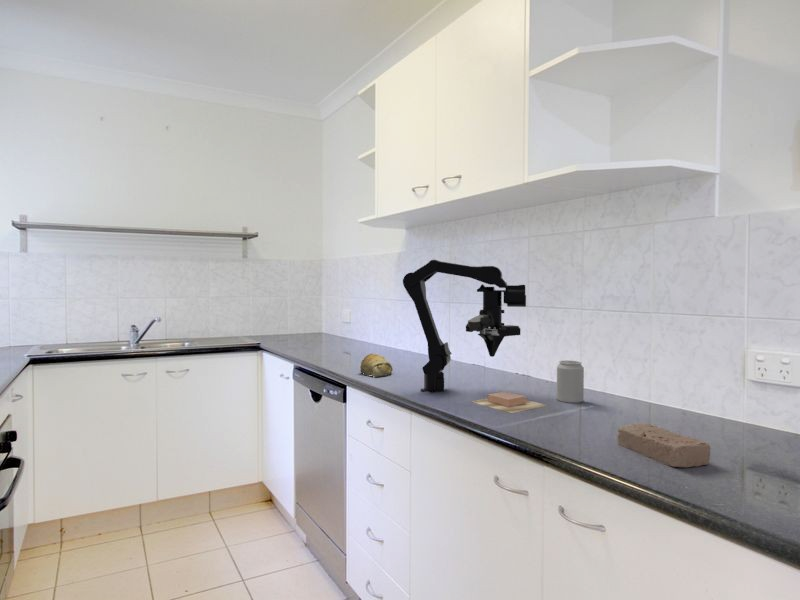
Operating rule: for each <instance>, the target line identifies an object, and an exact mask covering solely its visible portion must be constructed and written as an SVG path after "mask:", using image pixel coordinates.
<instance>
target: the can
mask: <svg viewBox="0 0 800 600" xmlns="http://www.w3.org/2000/svg"><path fill="white" fill-rule="evenodd" d="M584 369H585V367H584V366H583V365H582V362H581V361H578V360H559V364H558V365H557V366H556V399H557V400H558V401H560V402H562V403H569V404H576V403H577V404H578V403H582V402H583V401H584V387H585V386H584V381H585V380H584V379H585V378H584V377H585V375H584V374H585V373H584V372H585V371H584Z"/></svg>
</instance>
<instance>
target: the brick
mask: <svg viewBox="0 0 800 600" xmlns="http://www.w3.org/2000/svg"><path fill="white" fill-rule="evenodd" d="M617 431H618V433H617V435H616V437H617V445H620V446H622V447H624V448H625V449H628V450H629V449H630V450H631V451H634V452H636V453H638V454H640V455H642V456H645V457H648V458H651V459H652V460H654V461H657V462H659V463H660V464H662V465H667V466H670V467H675V468H691V467H696V468H697V467H701V466H705V465H706V466H707V465H709V464H710V458H711V446H710V444H709V442H705V441H703V440H700V439H697V438H695V437H690V436H687V435H686V436H685V435H681V434H678V433H676V432H674V431H670V430H668V429H666V428H663V427H659V426H657V425H653V424H650V423H643V422H639V423H637V422H636V423H630V424H625V425H619V426H618V427H617Z"/></svg>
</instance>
